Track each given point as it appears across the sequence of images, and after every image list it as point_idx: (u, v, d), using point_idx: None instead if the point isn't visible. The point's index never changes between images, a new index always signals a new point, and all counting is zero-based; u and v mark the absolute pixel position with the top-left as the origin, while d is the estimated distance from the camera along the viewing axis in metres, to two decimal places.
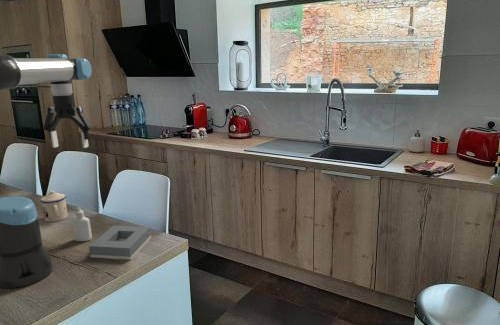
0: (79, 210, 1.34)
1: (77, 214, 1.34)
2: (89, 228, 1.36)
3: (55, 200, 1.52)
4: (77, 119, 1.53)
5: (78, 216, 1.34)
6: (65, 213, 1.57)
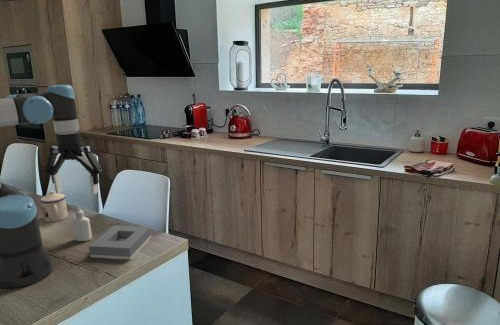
0: (79, 210, 1.34)
1: (77, 214, 1.34)
2: (89, 228, 1.36)
3: (55, 200, 1.52)
4: (85, 161, 1.29)
5: (78, 216, 1.34)
6: (65, 213, 1.57)
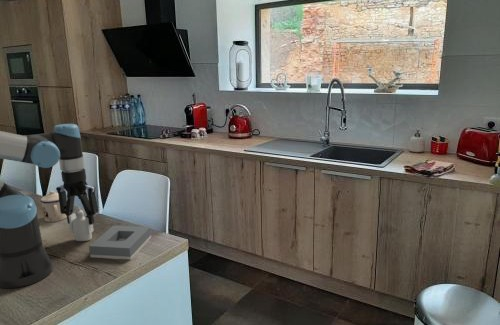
0: (79, 210, 1.34)
1: (77, 214, 1.34)
2: None
3: (55, 200, 1.52)
4: (85, 200, 1.33)
5: (78, 216, 1.34)
6: None
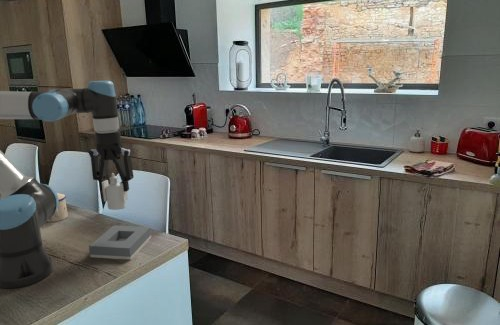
0: (113, 176, 1.24)
1: (111, 180, 1.24)
2: None
3: None
4: (120, 164, 1.23)
5: (112, 182, 1.24)
6: (65, 213, 1.57)
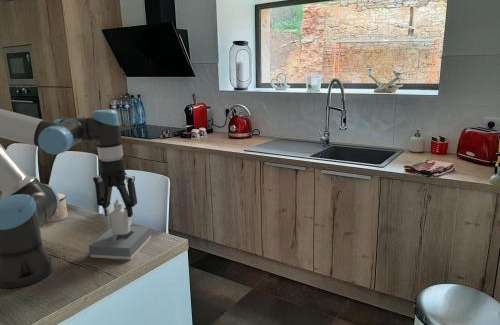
0: (117, 202, 1.27)
1: (115, 206, 1.26)
2: None
3: None
4: (124, 191, 1.25)
5: (116, 208, 1.26)
6: (65, 213, 1.57)
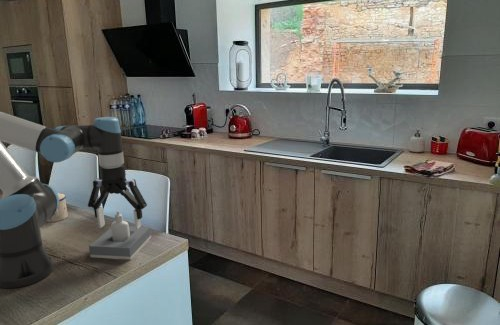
0: (118, 214, 1.27)
1: (116, 218, 1.27)
2: (128, 232, 1.29)
3: None
4: (129, 195, 1.25)
5: (117, 220, 1.27)
6: (65, 213, 1.57)
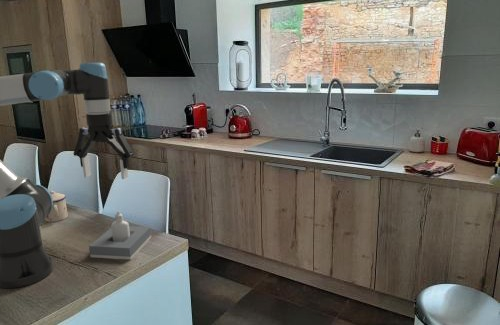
0: (118, 213, 1.27)
1: (116, 218, 1.27)
2: (128, 232, 1.29)
3: (55, 200, 1.52)
4: (115, 143, 1.23)
5: (117, 220, 1.27)
6: (65, 213, 1.57)
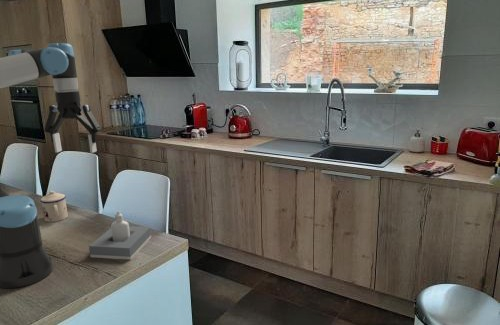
0: (118, 213, 1.27)
1: (116, 218, 1.27)
2: (128, 232, 1.29)
3: (55, 200, 1.52)
4: (84, 119, 1.32)
5: (117, 220, 1.27)
6: (65, 213, 1.57)
